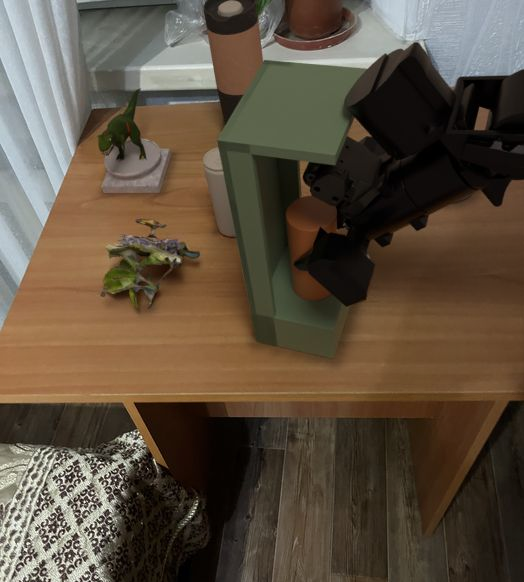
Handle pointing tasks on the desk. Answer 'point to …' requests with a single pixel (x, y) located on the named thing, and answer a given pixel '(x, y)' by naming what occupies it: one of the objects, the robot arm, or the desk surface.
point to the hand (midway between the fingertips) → (303, 248)
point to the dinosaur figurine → (131, 156)
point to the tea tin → (307, 240)
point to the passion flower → (144, 247)
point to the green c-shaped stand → (283, 192)
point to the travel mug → (233, 48)
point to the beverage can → (218, 192)
